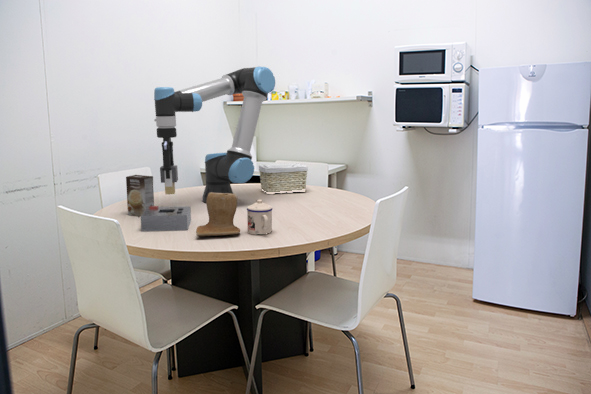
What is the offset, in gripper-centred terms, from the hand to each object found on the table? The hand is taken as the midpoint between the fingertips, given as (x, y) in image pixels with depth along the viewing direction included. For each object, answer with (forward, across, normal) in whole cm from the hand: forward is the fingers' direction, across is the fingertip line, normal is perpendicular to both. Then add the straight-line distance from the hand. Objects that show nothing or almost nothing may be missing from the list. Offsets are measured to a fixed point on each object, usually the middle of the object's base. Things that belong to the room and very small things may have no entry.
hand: (169, 185), depth 184 cm
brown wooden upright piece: (+13, +32, +19) cm, 39 cm away
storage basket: (+15, -54, +52) cm, 77 cm away
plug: (+3, 0, 0) cm, 3 cm away
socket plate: (+12, +16, 0) cm, 21 cm away
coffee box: (+13, -4, -13) cm, 18 cm away
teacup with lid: (+13, +32, +34) cm, 48 cm away
